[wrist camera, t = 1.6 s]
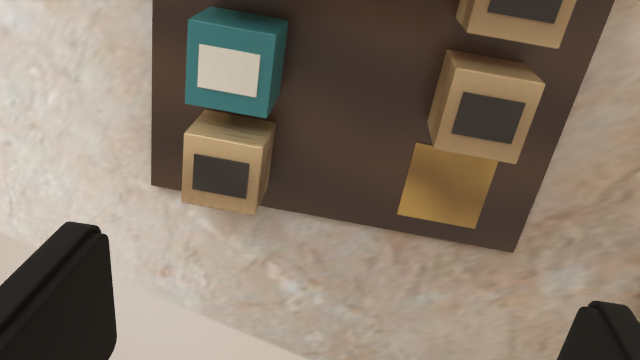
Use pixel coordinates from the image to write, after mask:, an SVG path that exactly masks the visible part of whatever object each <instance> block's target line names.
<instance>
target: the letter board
mask: <svg viewBox="0 0 640 360" xmlns="http://www.w3.org/2000/svg"><path fill="white" fill-rule="evenodd" d="M614 1H615V0H577V1H576V3H575V6H574V9H573V11H572V14H571V17H570V20H569V22H568V25H567V28H566V30H565V33H564V36H563V39H562V41H561V44H560V47H559V48H558V49H554V48H548V47H543V46H537V45H531V44H526V43H520V42H515V41H509V40H504V39H498V38H493V37H487V36H481V35H476V34H470V33H467V32H466V31H465V30H464V28H463V27H462V26H461V24H460V23H459V22H458V20H457V19H456V13H457V9H458V6H459V2H460V0H153V18H152V152H151V185H153V186H158V187H164V188H169V189H174V190H180V191H182V170H183V144H184V133H185V132H186V131H187V129H188V128H189V127H190V126H191V125H192V124H193V123H194V121H195V120H196V119H197V118H198V117H199V116H200V115H201V114H202V112H203V111H204V110H211V111H217V112H222V113H228V114H233V115H238V116H244V117H249V118H255V119H260V120H266V121H271V122H275V123H276V125H275V133H274V141H273V149H272V157H271V165H270V173H269V181H268V186H267V188H266V191H265V193H264V196H263V198H262V201H261V203H260V206H265V207H271V208H276V209H282V210H287V211H292V212H298V213H303V214H308V215H314V216H319V217H324V218H330V219H335V220H341V221H346V222H351V223H357V224H362V225H367V226H373V227H378V228H383V229H389V230H394V231H400V232H405V233H410V234H416V235H421V236H426V237H432V238H437V239H442V240H448V241H453V242H458V243H464V244H469V245H475V246H480V247H485V248H491V249H496V250H501V251H507V252H512V253H513V252H514V250H515V248H516V245H517V243H518V240H519V238H520V235H521V233H522V230H523V228H524V225H525V223H526V220H527V218H528V215H529V213H530V210H531V208H532V205H533V203H534V200H535V198H536V195H537V193H538V190H539V188H540V185H541V183H542V180H543V178H544V175H545V173H546V170H547V168H548V165H549V163H550V160H551V158H552V155H553V153H554V150H555V148H556V146H557V143H558V141H559V138H560V136H561V133H562V131H563V128H564V126H565V123H566V121H567V118H568V116H569V113H570V111H571V108H572V106H573V103H574V101H575V98H576V96H577V93H578V91H579V88H580V86H581V83H582V81H583V78H584V76H585V73H586V71H587V68H588V66H589V63H590V61H591V58H592V56H593V53H594V51H595V48H596V46H597V43H598V41H599V38H600V36H601V33H602V31H603V28H604V26H605V23H606V21H607V18H608V16H609V13H610V11H611V8H612V6H613V3H614ZM211 6H212V7H218V8H223V9H229V10H234V11H240V12H245V13H251V14H256V15H262V16H267V17H273V18H278V19H284V20H288V21H289V23H288V30H287V38H286V46H285V54H284V62H283V70H282V78H281V86H280V94H279V97H278V99H277V100H276V102H275V104H274V106H273V108H272V110H271V112H270V113H269V115H268V117H267V118H266V119H265V118H260V117H255V116H249V115H244V114H238V113H233V112H227V111H222V110H217V109H211V108H206V107H200V106H195V105H189V104H185V86H186V59H187V33H188V19H189V18H191V17H193V16H195V15H197V14H198V13H200V12H202V11H204V10H205V9H207V8H209V7H211ZM448 49H449V50H455V51H460V52H466V53H471V54H477V55H482V56H488V57H493V58H499V59H505V60H510V61H516V62H521V63H525V64H526V65H527V66H528V67H529V68H530V69H531V70H532V71H533V72H534V73H535V74H536V75H537V76H538V77H539V78H540V79H541V80H542V81H543V82H544V83H545V88H544V90H543V93H542V96H541V98H540V101H539V104H538V106H537V109H536V112H535V115H534V117H533V120H532V123H531V125H530V128H529V131H528V134H527V136H526V139H525V142H524V144H523V147H522V150H521V153H520V155H519V158H518V161H517V163H516V164H512V163H506V162H501V161H495V160H490V159H485V158H479V157H474V156H468V155H463V154H457V153H452V152H446V151H441V150H436V149H433V144H432V140H431V136H430V132H429V128H428V123H427V121H428V117H429V113H430V110H431V106H432V102H433V99H434V95H435V91H436V87H437V84H438V80H439V76H440V72H441V69H442V65H443V61H444V58H445V54H446V51H447V50H448Z"/></svg>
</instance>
